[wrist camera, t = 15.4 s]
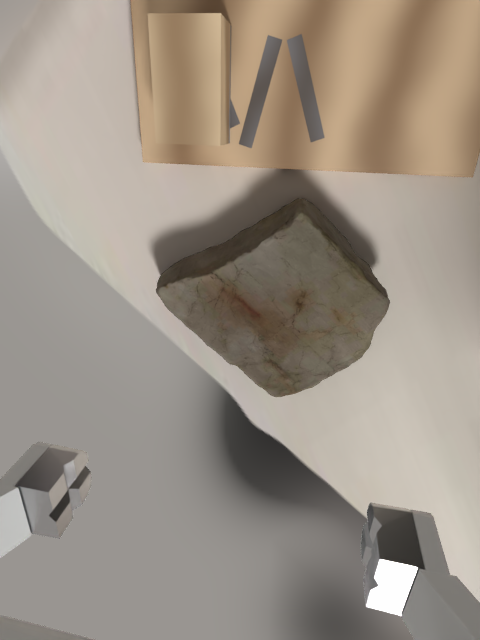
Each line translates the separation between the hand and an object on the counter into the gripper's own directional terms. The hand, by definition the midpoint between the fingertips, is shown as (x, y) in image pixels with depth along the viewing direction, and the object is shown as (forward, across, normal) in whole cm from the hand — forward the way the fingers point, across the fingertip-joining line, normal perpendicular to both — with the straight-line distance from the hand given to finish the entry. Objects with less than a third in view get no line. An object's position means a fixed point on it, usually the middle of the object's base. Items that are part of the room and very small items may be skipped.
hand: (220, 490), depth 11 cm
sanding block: (+23, -7, +12) cm, 27 cm away
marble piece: (+26, -1, -4) cm, 26 cm away
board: (+25, 0, +12) cm, 27 cm away
